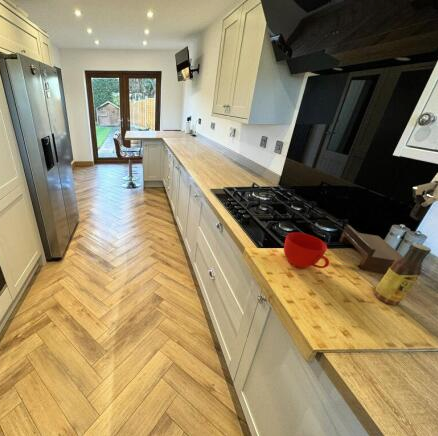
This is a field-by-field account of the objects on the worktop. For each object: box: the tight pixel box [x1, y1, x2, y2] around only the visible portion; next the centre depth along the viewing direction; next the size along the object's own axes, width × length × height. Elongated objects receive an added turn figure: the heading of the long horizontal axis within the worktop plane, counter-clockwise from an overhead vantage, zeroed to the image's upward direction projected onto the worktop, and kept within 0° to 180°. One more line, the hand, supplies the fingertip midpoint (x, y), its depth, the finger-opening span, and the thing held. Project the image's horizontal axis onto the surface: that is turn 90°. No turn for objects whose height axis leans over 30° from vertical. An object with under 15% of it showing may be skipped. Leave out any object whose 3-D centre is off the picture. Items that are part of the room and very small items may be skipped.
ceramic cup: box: [283, 232, 330, 269], centre depth 87 cm, size 13×17×10 cm
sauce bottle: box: [374, 242, 432, 306], centre depth 71 cm, size 7×6×20 cm
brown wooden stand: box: [338, 224, 404, 275], centre depth 94 cm, size 13×20×10 cm, turn 164°
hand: (436, 221), depth 63 cm, fingers open, 9 cm apart
